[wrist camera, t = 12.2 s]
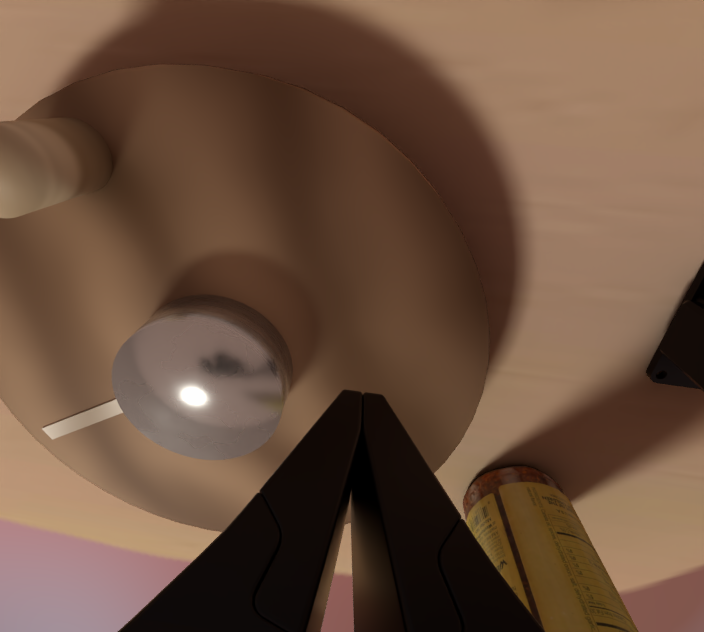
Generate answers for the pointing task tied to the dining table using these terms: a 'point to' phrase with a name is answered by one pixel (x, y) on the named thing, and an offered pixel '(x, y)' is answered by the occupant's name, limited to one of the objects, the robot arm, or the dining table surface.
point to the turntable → (224, 269)
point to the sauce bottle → (543, 551)
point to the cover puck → (204, 377)
